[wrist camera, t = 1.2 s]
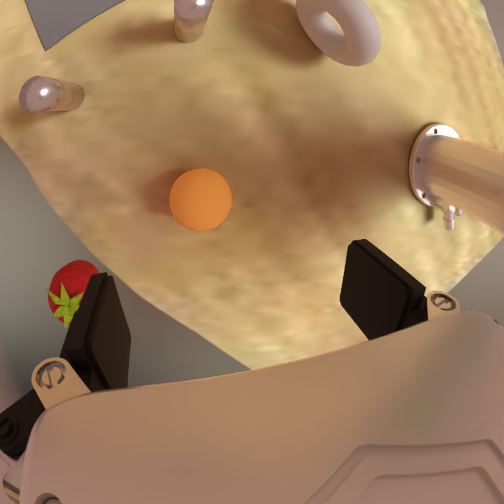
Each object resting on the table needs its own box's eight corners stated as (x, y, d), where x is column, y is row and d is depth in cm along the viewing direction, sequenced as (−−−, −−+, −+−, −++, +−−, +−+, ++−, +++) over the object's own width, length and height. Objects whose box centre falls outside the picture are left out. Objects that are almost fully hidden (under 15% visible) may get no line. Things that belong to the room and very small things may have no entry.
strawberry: (56, 279, 30) (28, 332, 21) (78, 231, 28) (47, 277, 20) (95, 302, 33) (79, 359, 24) (121, 257, 31) (105, 311, 22)
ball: (236, 201, 32) (248, 221, 26) (187, 228, 32) (190, 252, 26) (211, 153, 29) (218, 162, 23) (159, 181, 29) (155, 197, 23)
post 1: (88, 99, 23) (54, 96, 15) (66, 115, 23) (27, 119, 15) (77, 78, 21) (41, 68, 14) (56, 94, 21) (14, 92, 13)
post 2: (207, 35, 23) (220, 5, 15) (181, 46, 23) (183, 19, 15) (196, 14, 21) (204, -21, 14) (170, 25, 21) (168, -8, 14)
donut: (275, 5, 22) (316, -30, 14) (299, -6, 22) (345, -38, 13) (328, 75, 27) (383, 68, 19) (349, 62, 27) (407, 54, 18)
